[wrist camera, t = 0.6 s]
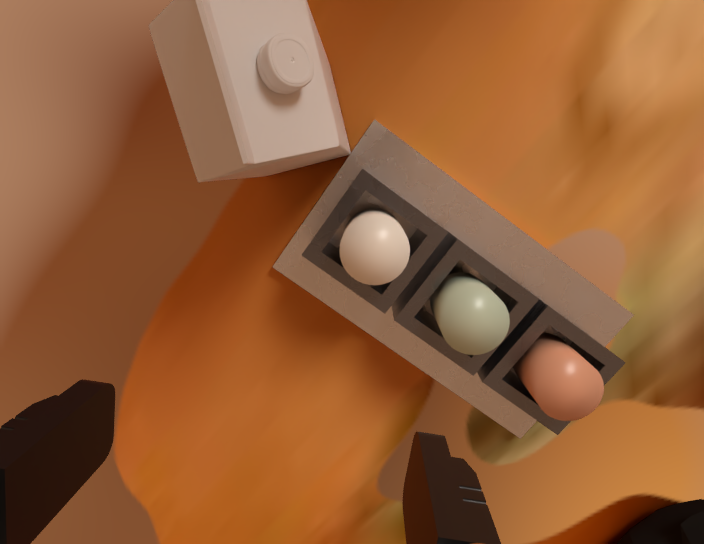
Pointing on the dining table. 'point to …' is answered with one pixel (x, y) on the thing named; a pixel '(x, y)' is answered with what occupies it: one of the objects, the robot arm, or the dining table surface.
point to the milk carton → (249, 86)
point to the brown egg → (559, 379)
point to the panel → (444, 259)
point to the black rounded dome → (670, 526)
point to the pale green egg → (469, 314)
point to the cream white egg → (374, 247)
